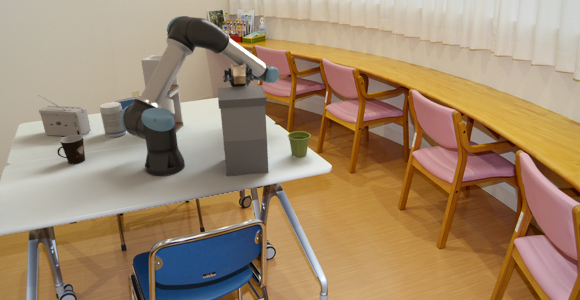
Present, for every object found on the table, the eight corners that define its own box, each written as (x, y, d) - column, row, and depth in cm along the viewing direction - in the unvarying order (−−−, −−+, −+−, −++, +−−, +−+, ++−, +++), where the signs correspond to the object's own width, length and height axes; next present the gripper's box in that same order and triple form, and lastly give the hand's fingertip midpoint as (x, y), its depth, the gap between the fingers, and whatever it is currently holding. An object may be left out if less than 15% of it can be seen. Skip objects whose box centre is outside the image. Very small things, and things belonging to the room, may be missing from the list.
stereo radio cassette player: (92, 132, 219) (83, 92, 211) (81, 138, 211) (72, 97, 203) (55, 130, 223) (45, 91, 215) (43, 136, 216) (32, 95, 208)
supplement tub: (130, 134, 215) (124, 104, 209) (110, 139, 209) (104, 109, 203) (120, 129, 222) (115, 100, 216) (102, 134, 216) (96, 105, 210)
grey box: (225, 176, 170) (218, 100, 158) (224, 158, 186) (218, 87, 174) (269, 172, 172) (266, 97, 161) (265, 155, 188) (262, 85, 176)
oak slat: (234, 84, 173) (233, 76, 172) (233, 72, 192) (232, 65, 190) (246, 83, 174) (245, 75, 173) (243, 72, 192) (243, 65, 191)
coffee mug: (83, 155, 193) (78, 133, 189) (91, 160, 187) (86, 138, 183) (54, 163, 186) (49, 141, 182) (62, 169, 180) (56, 146, 176)
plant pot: (297, 148, 194) (297, 129, 190) (315, 153, 188) (315, 134, 185) (283, 155, 187) (282, 136, 184) (301, 161, 182) (301, 141, 178)
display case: (152, 132, 216) (141, 59, 202) (161, 125, 226) (151, 55, 212) (175, 133, 214) (165, 60, 201) (183, 125, 224) (174, 55, 210)
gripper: (258, 89, 207) (260, 74, 184) (219, 91, 205) (217, 77, 182) (256, 73, 208) (259, 57, 185) (218, 75, 206) (216, 59, 183)
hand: (238, 67), depth 184 cm, fingers closed on oak slat, 4 cm apart
